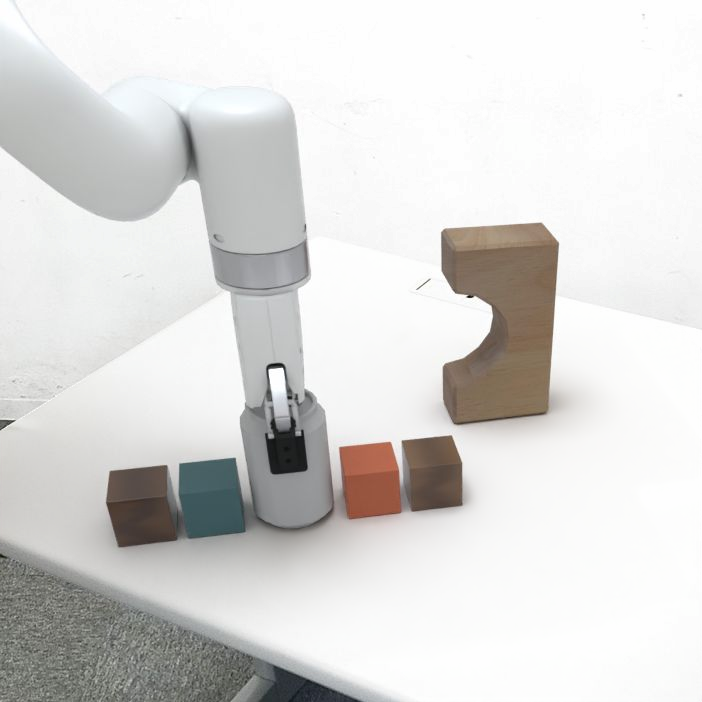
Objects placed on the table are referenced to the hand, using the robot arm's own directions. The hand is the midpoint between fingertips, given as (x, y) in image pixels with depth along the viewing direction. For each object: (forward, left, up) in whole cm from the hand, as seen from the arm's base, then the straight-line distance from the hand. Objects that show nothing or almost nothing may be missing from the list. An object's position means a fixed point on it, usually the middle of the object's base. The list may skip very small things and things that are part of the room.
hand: (286, 445), depth 87 cm
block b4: (+13, 0, -7) cm, 15 cm away
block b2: (-7, 0, -7) cm, 10 cm away
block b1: (-13, 0, -7) cm, 15 cm away
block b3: (+7, 0, -7) cm, 10 cm away
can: (0, 0, -8) cm, 8 cm away
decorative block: (+23, +15, -7) cm, 29 cm away
